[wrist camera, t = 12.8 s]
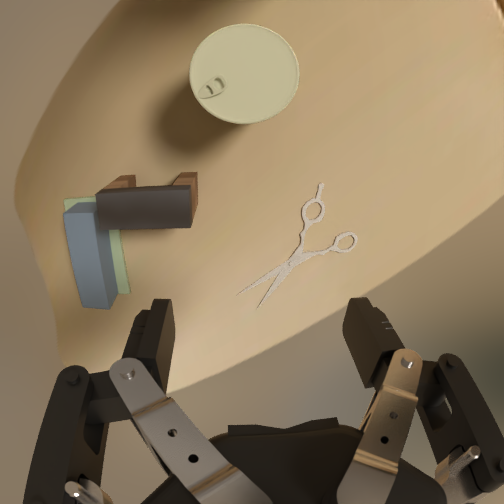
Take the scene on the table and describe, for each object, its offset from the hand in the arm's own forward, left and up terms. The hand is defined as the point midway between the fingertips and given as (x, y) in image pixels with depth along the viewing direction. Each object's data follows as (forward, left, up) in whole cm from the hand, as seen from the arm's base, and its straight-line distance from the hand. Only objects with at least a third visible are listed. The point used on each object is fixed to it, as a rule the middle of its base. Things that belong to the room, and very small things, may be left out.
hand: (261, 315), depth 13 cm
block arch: (+1, -10, -27) cm, 29 cm away
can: (-12, 0, -27) cm, 29 cm away
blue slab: (+9, -20, -26) cm, 34 cm away
